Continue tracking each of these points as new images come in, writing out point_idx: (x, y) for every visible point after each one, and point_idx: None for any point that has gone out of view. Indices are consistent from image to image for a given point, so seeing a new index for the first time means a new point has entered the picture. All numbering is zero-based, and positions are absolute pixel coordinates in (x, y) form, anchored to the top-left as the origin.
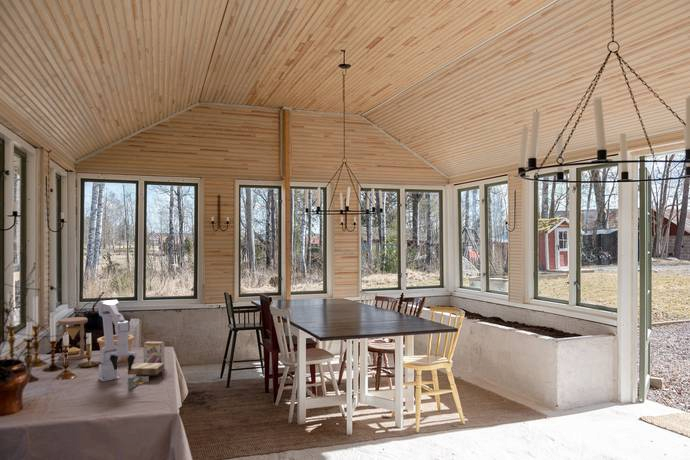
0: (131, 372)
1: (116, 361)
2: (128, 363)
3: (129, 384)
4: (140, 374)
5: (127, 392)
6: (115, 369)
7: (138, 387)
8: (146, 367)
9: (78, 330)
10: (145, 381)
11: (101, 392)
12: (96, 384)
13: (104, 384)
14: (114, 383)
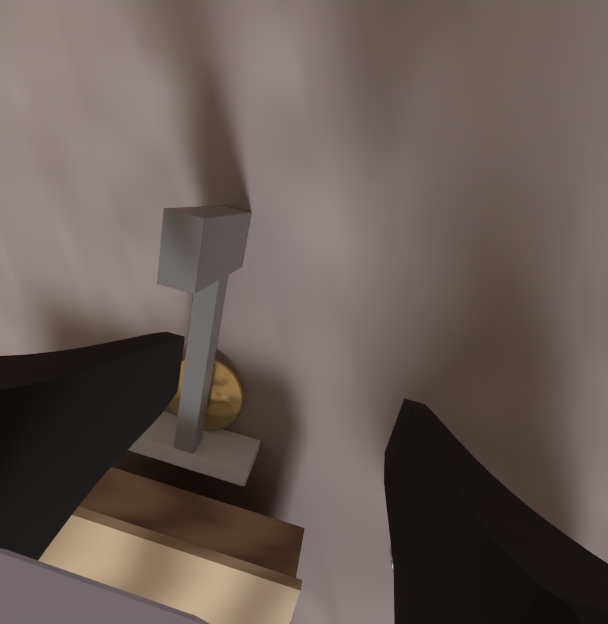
0: (265, 534)
1: (409, 579)
2: (86, 364)
3: (221, 211)
4: (187, 491)
5: (232, 89)
6: (405, 405)
7: None
8: (100, 550)
9: None
10: (163, 414)
11: (515, 149)
12: (583, 459)
13: (505, 437)
14: None
